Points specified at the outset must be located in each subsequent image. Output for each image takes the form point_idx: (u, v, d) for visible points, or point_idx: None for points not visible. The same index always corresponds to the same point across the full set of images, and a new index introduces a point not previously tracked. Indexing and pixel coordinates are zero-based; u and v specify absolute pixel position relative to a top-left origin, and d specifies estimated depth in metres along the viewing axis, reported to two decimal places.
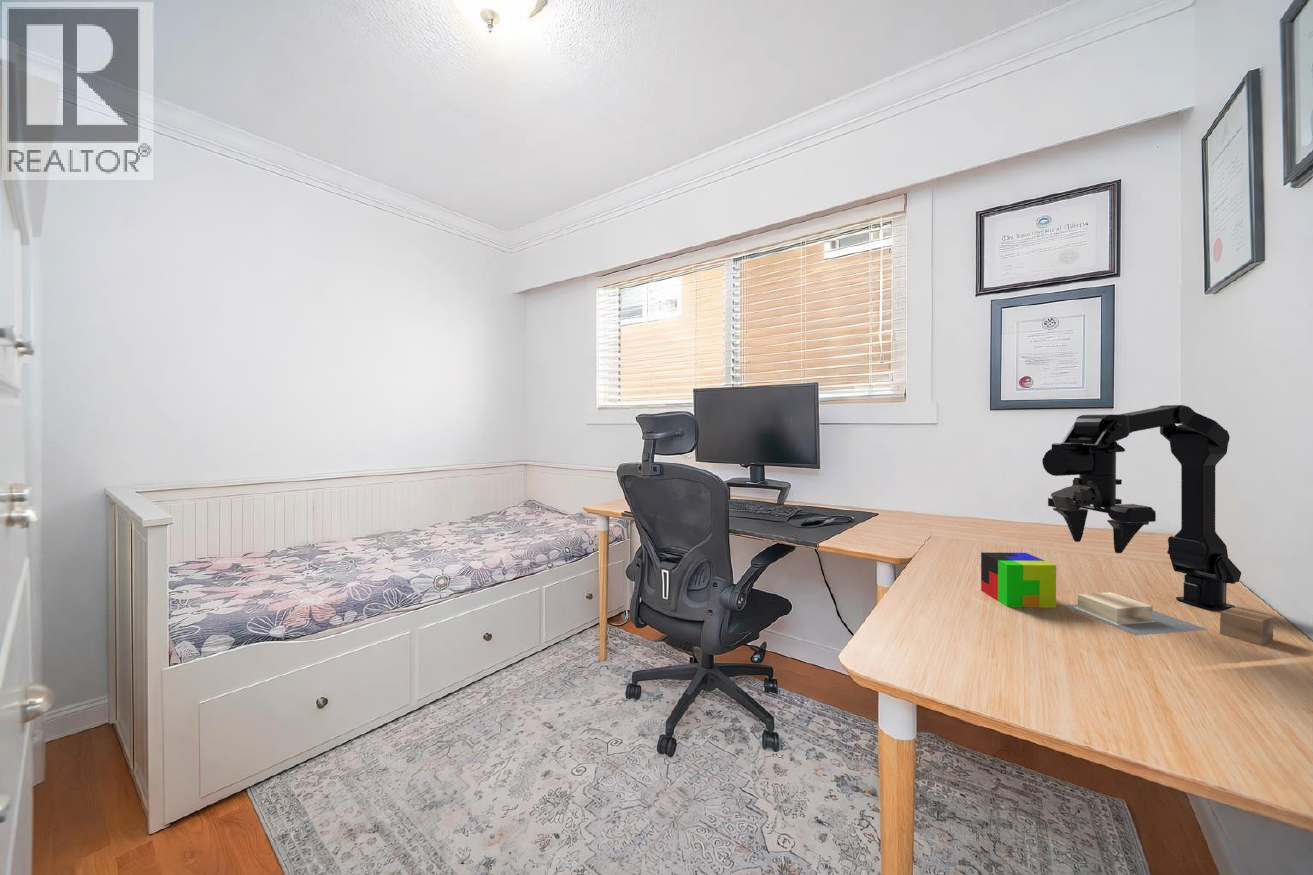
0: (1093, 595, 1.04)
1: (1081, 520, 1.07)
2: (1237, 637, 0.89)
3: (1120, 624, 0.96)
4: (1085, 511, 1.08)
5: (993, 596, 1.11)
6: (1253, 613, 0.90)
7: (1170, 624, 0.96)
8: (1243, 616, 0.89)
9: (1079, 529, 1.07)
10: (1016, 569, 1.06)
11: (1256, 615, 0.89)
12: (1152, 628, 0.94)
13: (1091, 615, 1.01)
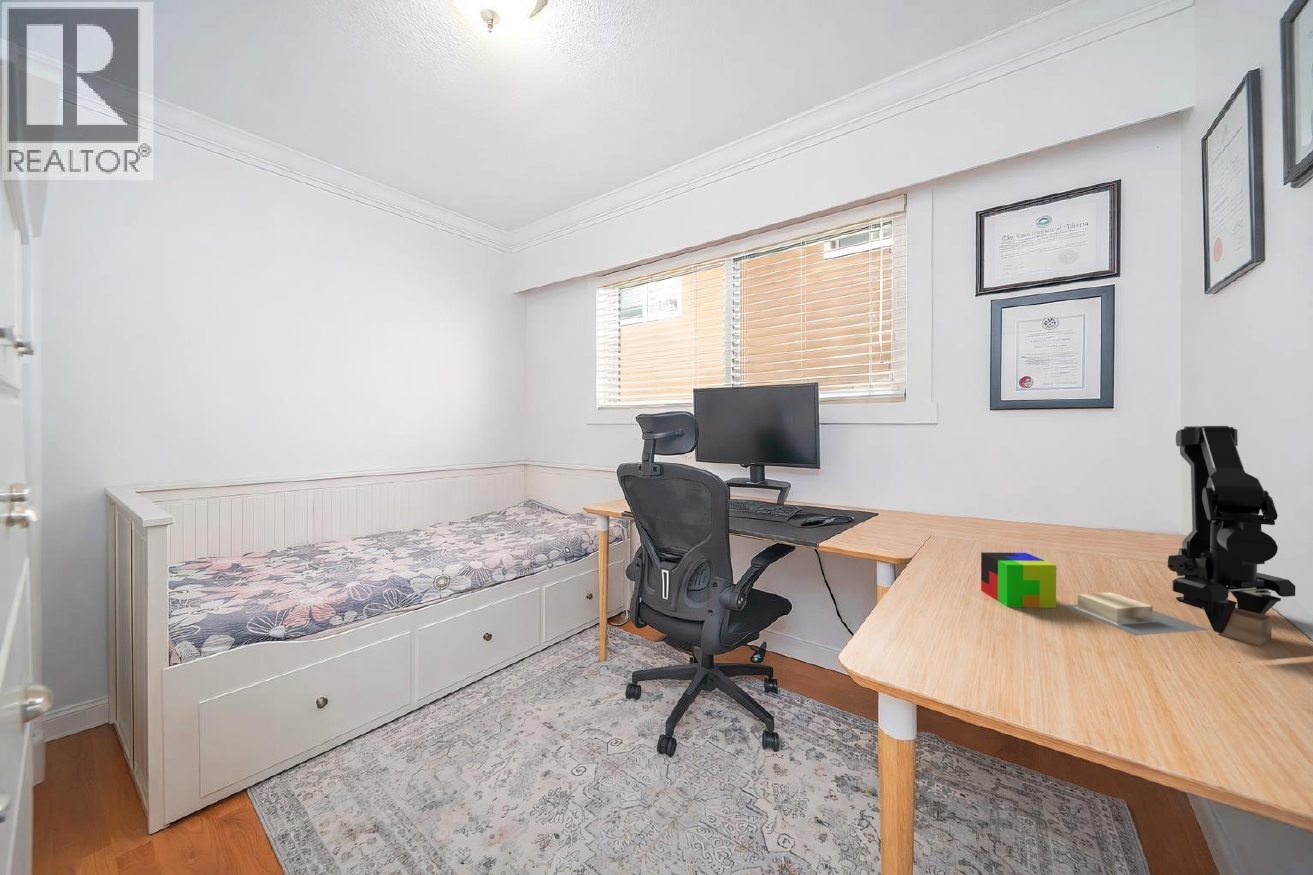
0: (1093, 595, 1.04)
1: (1254, 608, 0.90)
2: (1236, 637, 0.89)
3: (1120, 624, 0.96)
4: (1264, 600, 0.89)
5: (993, 596, 1.11)
6: (1251, 613, 0.90)
7: (1170, 624, 0.96)
8: (1242, 616, 0.89)
9: None
10: (1016, 569, 1.06)
11: (1254, 615, 0.89)
12: (1152, 628, 0.94)
13: (1091, 615, 1.01)
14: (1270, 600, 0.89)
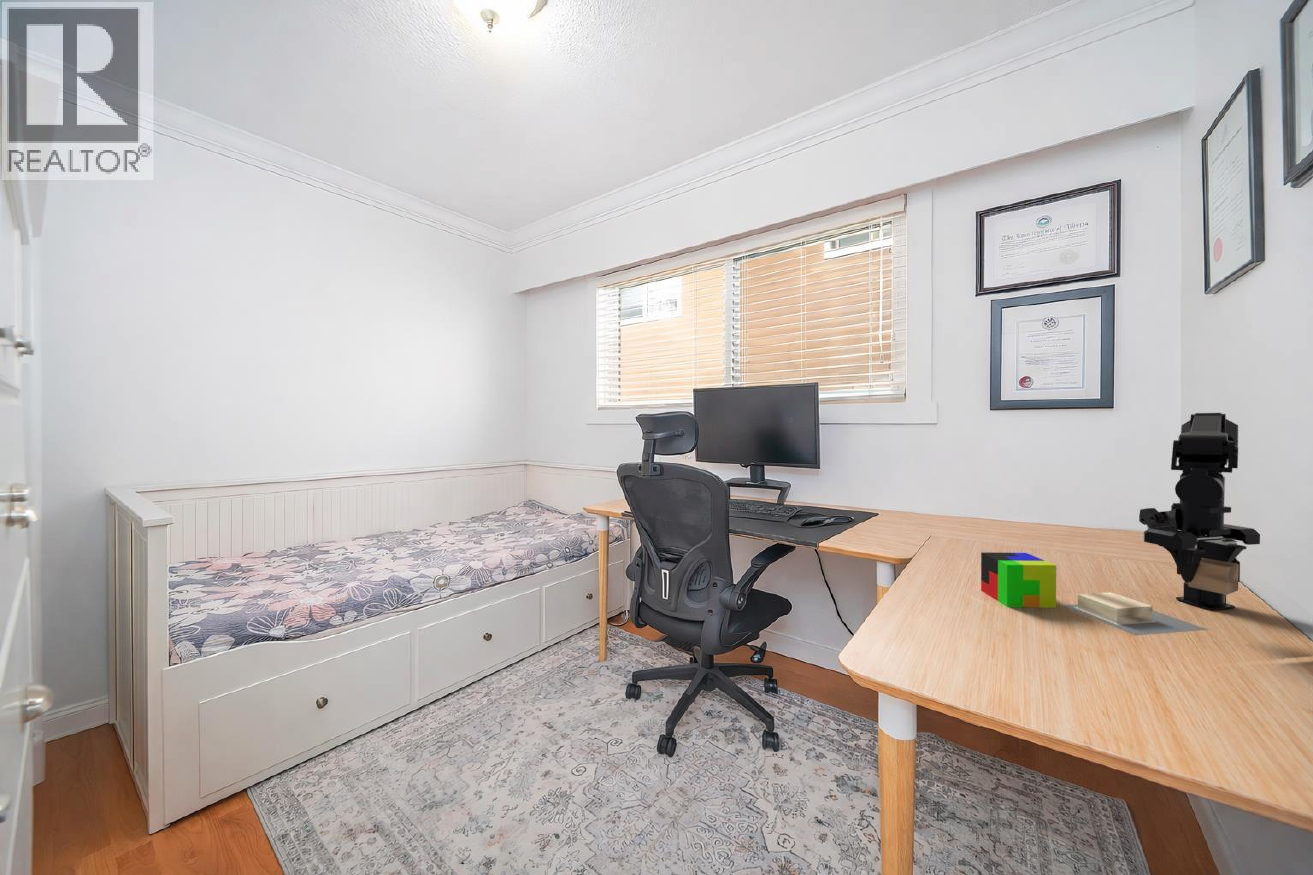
0: (1093, 595, 1.04)
1: (1221, 557, 0.93)
2: (1204, 585, 0.91)
3: (1120, 624, 0.96)
4: (1231, 548, 0.91)
5: (993, 596, 1.11)
6: (1219, 561, 0.92)
7: (1170, 624, 0.96)
8: (1210, 564, 0.91)
9: None
10: (1016, 569, 1.06)
11: (1222, 563, 0.91)
12: (1152, 628, 0.94)
13: (1091, 615, 1.01)
14: (1236, 548, 0.91)
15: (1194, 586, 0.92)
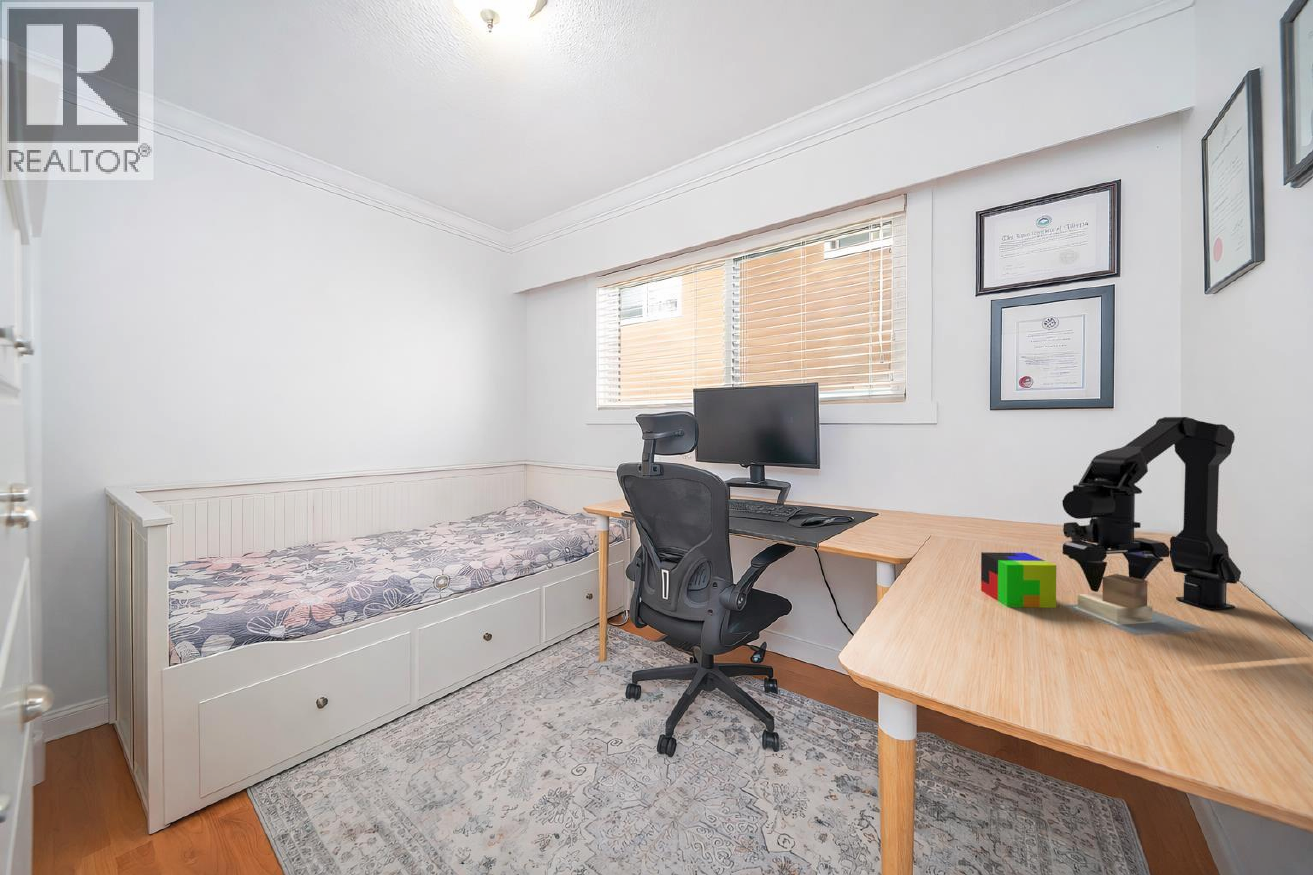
0: (1093, 595, 1.04)
1: (1141, 568, 1.00)
2: (1115, 599, 0.99)
3: (1120, 624, 0.96)
4: (1148, 560, 0.99)
5: (993, 596, 1.11)
6: (1131, 578, 0.99)
7: (1170, 624, 0.96)
8: (1120, 580, 0.98)
9: (1136, 576, 1.01)
10: (1016, 569, 1.06)
11: (1133, 579, 0.99)
12: (1152, 628, 0.94)
13: (1091, 615, 1.01)
14: (1153, 560, 0.98)
15: (1107, 600, 1.00)
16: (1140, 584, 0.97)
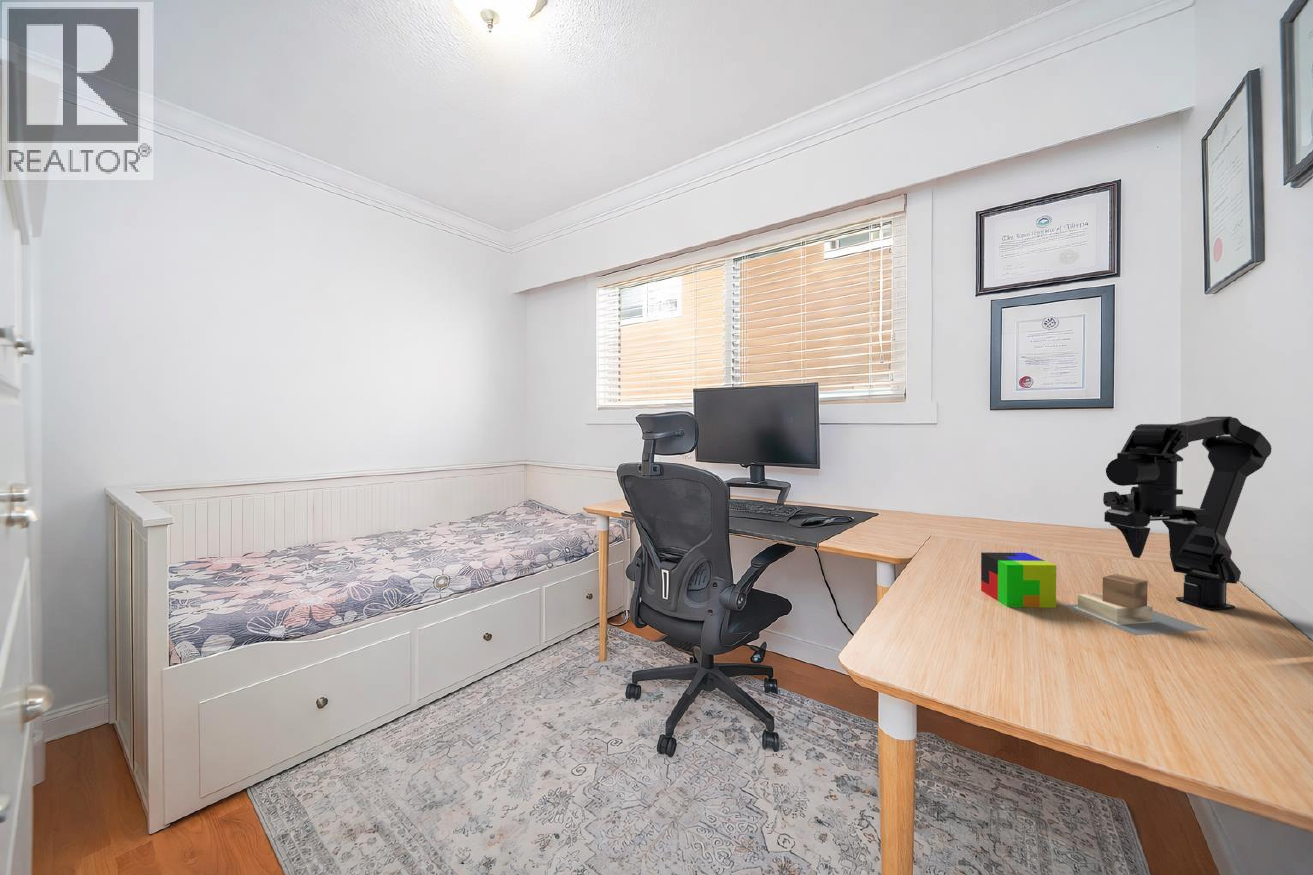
0: (1093, 595, 1.04)
1: (1182, 534, 1.02)
2: (1115, 599, 0.99)
3: (1120, 624, 0.96)
4: (1190, 527, 1.01)
5: (993, 596, 1.11)
6: (1131, 578, 0.99)
7: (1170, 624, 0.96)
8: (1120, 580, 0.98)
9: (1177, 543, 1.03)
10: (1016, 569, 1.06)
11: (1133, 579, 0.99)
12: (1152, 628, 0.94)
13: (1091, 615, 1.01)
14: (1195, 526, 1.00)
15: (1107, 600, 1.00)
16: (1140, 584, 0.97)
